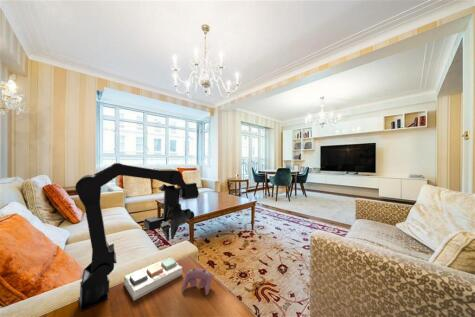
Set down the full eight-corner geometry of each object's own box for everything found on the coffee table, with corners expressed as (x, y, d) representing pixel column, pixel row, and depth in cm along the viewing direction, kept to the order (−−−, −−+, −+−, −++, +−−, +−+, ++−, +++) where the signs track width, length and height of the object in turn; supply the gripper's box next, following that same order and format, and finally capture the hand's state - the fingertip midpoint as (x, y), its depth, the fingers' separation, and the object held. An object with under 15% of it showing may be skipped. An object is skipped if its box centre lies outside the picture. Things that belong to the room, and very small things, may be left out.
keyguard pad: (133, 300, 54) (134, 290, 54) (123, 284, 61) (124, 275, 61) (181, 274, 67) (182, 266, 67) (169, 263, 74) (169, 256, 74)
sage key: (166, 272, 65) (166, 266, 65) (161, 267, 68) (161, 261, 68) (176, 267, 69) (176, 261, 69) (170, 262, 71) (171, 257, 71)
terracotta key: (151, 279, 61) (151, 273, 61) (146, 273, 64) (146, 268, 64) (162, 273, 64) (162, 268, 64) (157, 268, 67) (157, 263, 67)
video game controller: (210, 292, 61) (213, 269, 64) (208, 295, 57) (211, 271, 60) (184, 289, 62) (188, 266, 65) (179, 292, 58) (184, 268, 61)
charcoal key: (134, 287, 57) (134, 281, 57) (129, 281, 60) (130, 275, 60) (147, 281, 60) (147, 275, 60) (142, 275, 63) (142, 269, 63)
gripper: (157, 210, 56) (155, 258, 56) (203, 201, 70) (201, 239, 70) (143, 203, 63) (141, 245, 63) (187, 196, 77) (186, 230, 77)
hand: (169, 239), depth 68 cm, fingers closed
